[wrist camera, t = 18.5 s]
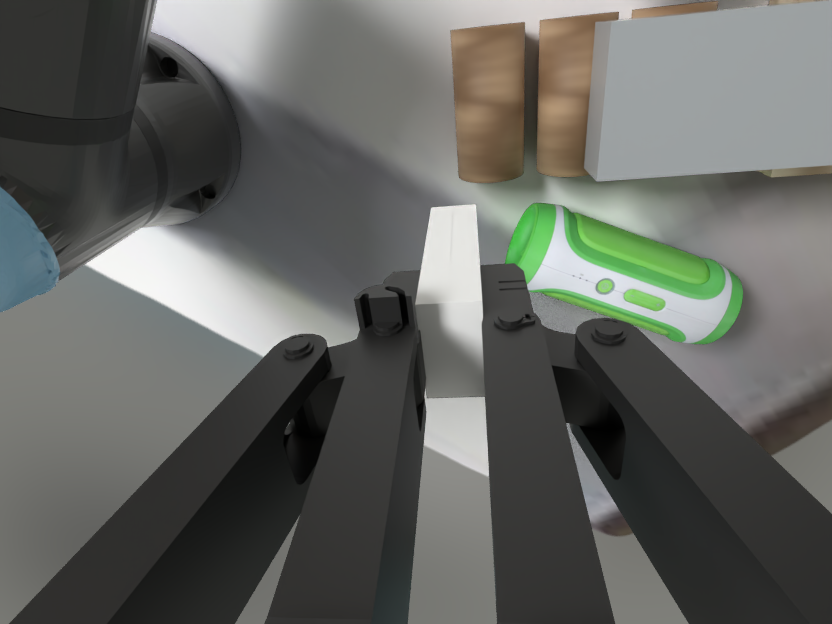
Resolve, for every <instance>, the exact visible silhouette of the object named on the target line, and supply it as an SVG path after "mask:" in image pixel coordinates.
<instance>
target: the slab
mask: <svg viewBox="0 0 832 624" xmlns="http://www.w3.org/2000/svg"><path fill="white" fill-rule="evenodd" d="M828 165H832V0H811V1H801V2H791V3H781V4H771V5H761V6H751V7H741V8H731V9H720V10H710V11H700V12H690V13H680V14H670V15H660V16H650V17H640V18H629V19H619V20H609V21H599V22H595V35H594V47H593V60H592V73H591V85H590V98H589V110H588V123H587V136H586V148H585V161H584V169H585V170H586V171H587V172H588V173H589V174H590V175H591V176H592V177H593V178H594V179H595V181H596V182H598V181H613V180H627V179H641V178H656V177H670V176H684V175H699V174H713V173H727V172H742V171H756V170H770V169H785V168H799V167H813V166H828Z"/></svg>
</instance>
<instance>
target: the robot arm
mask: <svg viewBox="0 0 832 624" xmlns="http://www.w3.org/2000/svg"><path fill="white" fill-rule="evenodd" d="M156 3H157V0H0V312H3V311H6V310H8V309H10V308H12V307H14V306H16V305H18V304H20V303H22V302H24V301H26V300H28V299H30V298H32V297H34V296H36V295H41V294H44V293H46V292H48V291H50V290H51V289H52V288H53V287H55V286H56V284H55V283H57V282H58V281H59V280H61V279H63V278H64V277H66V276H67V275H69V274H70V273H72V272H73V271H75V270H76V269H78V268H80V267H81V266H83V265H84V264H86V263H87V262H89V261H91V260H92V259H94V258H95V257H97V256H98V255H100V254H101V253H103V252H105V251H106V250H108V249H109V248H111V247H112V246H114V245H115V244H117V243H118V242H120V241H122V240H123V239H125V238H126V237H128V236H129V235H131V234H132V233H134V232H135V231H137V230H138V229H140V228H143V227H154V226H165V225H175V224H181V223H185V222H188V221H191V220H193V219H196V218H198V217H200V216H201V215H203V214H205V213H206V212H207V211H209V210H210V209H211V208H213V207H214V206H216V205H217V204H218V203H219V202H220V201H222V199H223V198H224V197H225V196H226V195H227V194H228V192H229V191H230V189H231V188H232V186H233V184H234V182H235V179H236V177H237V173H238V170H239V165H240V158H241V143H240V134H239V129H238V125H237V121H236V118H235V115H234V112H233V109H232V107H231V105H230V103H229V100H228V99H227V97H226V95H225V93H224V91H223V90H222V88H221V86H220V85H219V83H218V82H217V81H216V79H215V78H214V77H213V75H212V74H211V73H210V72H209V71H208V69H207V68H206V67H205V66H204V65H203V64H202V63H201V62H200V61H199V60H198V59H197V58H195V57H194V56H193V55H192V54H191V53H189V52H188V51H187V50H185V49H184V48H183V47H181V46H179V45H178V44H176V43H175V42H173V41H171V40H169V39H167V38H165V37H163V36H160V35H158V34H155V33H152V32H151V28H152V23H153V18H154V13H155V8H156ZM354 301H355V306H356V311H357V316H358V321H359V327H360V331H359V334H358V337H357V339H356V340H353V341H351V342H348V343H345V344H341V345H337V346H333V347H329V348H328V347H327V342H326V340H325V339H324V338H323V337H321V336H319V335H315V334H299V335H294V336H291V337H289V338H287V339H285V340H283V341H281V342H280V343H278V344H277V345H276V346H274V347H273V348H272V349H271V350H270V351H269V352H268V354H267V355H266V356H265V357H264V358H263V359H262V360H261V361H260V362H259V363H258V364H257V365H256V366H255V367H254V368H253V369H252V370H251V371H250V372H249V373H248V374H247V376H246V377H245V378H244V379H243V380H242V381H241V382H240V383H239V384H238V385H237V386H236V387H235V388H234V389H233V390H232V391H231V392H230V393H229V394H228V395H227V396H226V397H225V399H224V400H223V401H222V402H221V403H220V404H219V405H218V406H217V407H216V408H215V409H214V410H213V411H212V412H211V413H210V414H209V415H208V416H207V418H205V419H204V421H203V422H202V423H201V424H200V425H199V426H198V427H197V428H196V429H195V430H194V431H193V432H192V433H191V434H190V435H189V436H188V437H187V438H186V439H185V440H184V441H183V442H182V443H181V445H180V446H179V447H178V448H177V449H176V450H175V451H174V452H173V453H172V454H171V455H170V456H169V457H168V458H167V459H166V460H165V461H164V462H163V463H162V464H161V465H160V467H158V469H157V470H156V471H155V472H154V473H153V474H152V475H151V476H150V477H149V478H148V479H147V480H146V481H145V482H144V483H143V484H142V485H141V486H140V487H139V488H138V489H137V491H136V492H135V493H134V494H133V495H132V496H131V497H130V498H129V499H128V500H127V501H126V502H125V503H124V504H123V505H122V506H121V507H120V508H119V509H118V510H117V511H116V512H115V514H114V515H113V516H112V517H111V518H110V519H109V520H108V521H107V522H106V523H105V524H104V525H103V526H102V527H101V528H100V529H99V530H98V531H97V532H96V533H95V534H94V535H93V536H92V538H91V539H90V540H89V541H88V542H87V543H86V544H85V545H84V546H83V547H82V548H81V549H80V550H79V551H78V552H77V553H76V554H75V555H74V556H73V557H72V558H71V559H70V561H69V562H68V563H67V564H66V565H65V566H64V567H63V568H62V569H61V570H60V571H59V572H58V573H57V574H56V575H55V576H54V577H53V578H52V579H51V580H50V581H49V583H48V584H47V585H46V586H45V587H44V588H43V589H42V590H41V591H40V592H39V593H38V594H37V595H36V596H35V597H34V598H33V599H32V600H31V601H30V603H28V605H27V606H26V607H25V608H24V609H23V610H22V611H21V612H20V613H19V614H18V615H17V616H16V617H15V618H14V619H13V620H12V621H11V622H10V623H9V624H235V622H236V621H237V619H238V617H239V616H240V614H241V612H242V611H243V609H244V607H245V606H246V604H247V602H248V601H249V599H250V597H251V595H252V594H253V592H254V591H255V589H256V587H257V585H258V584H259V582H260V581H261V579H262V577H263V575H264V574H265V572H266V571H267V569H268V567H269V566H270V564H271V562H272V560H273V559H274V557H275V555H276V554H277V552H278V550H279V549H280V547H281V545H282V544H283V542H284V540H285V539H286V537H287V535H288V534H289V532H290V530H291V529H292V527H293V525H294V524H295V522H296V520H297V519H298V517H299V515H300V517H299V520H298V523H297V527H296V529H295V533H294V536H293V539H292V542H291V545H290V548H289V551H288V554H287V557H286V560H285V564H284V567H283V570H282V573H281V576H280V579H279V582H278V585H277V588H276V592H275V594H274V598H273V601H272V604H271V607H270V610H269V613H268V616H267V619H266V621H265V624H408V612H409V601H410V590H411V579H412V567H413V556H414V545H415V534H416V523H417V511H418V499H419V488H420V477H421V465H422V454H423V444H424V433H425V421H426V406H425V398H424V394H425V387H426V395H427V398H452V397H485V403H486V424H487V442H488V461H489V480H490V497H491V517H492V534H493V535H492V536H493V555H494V572H495V593H496V612H497V624H615V621H614V617H613V613H612V609H611V605H610V601H609V597H608V593H607V588H606V585H605V581H604V576H603V572H602V568H601V564H600V560H599V556H598V552H597V548H596V544H595V540H594V536H593V532H592V528H591V524H590V520H589V515H588V511H587V507H586V503H585V499H584V495H583V491H582V487H581V483H580V479H579V475H578V471H577V467H576V463H575V459H574V455H573V451H572V447H571V442H570V438H569V434H568V430H567V426H566V423H570V427H571V431H572V433H573V435H574V437H575V438H576V440H577V441H578V443H579V445H580V446H581V448H582V450H583V451H584V453H585V455H586V456H587V458H588V459H589V461H590V463H591V464H592V466H593V468H594V469H595V471H596V473H597V474H598V476H599V477H600V479H601V481H602V482H603V484H604V486H605V487H606V489H607V491H608V492H609V494H610V495H611V497H612V499H613V500H614V502H615V504H616V505H617V507H618V509H619V510H620V512H621V513H622V515H623V517H624V518H625V520H626V522H627V523H628V525H629V527H630V528H631V530H632V531H633V533H634V535H635V536H636V538H637V540H638V541H639V543H640V544H641V546H642V548H643V549H644V551H645V553H646V554H647V556H648V558H649V559H650V561H651V563H652V564H653V566H654V567H655V569H656V570H657V572H658V574H659V576H660V577H661V579H662V580H663V582H664V584H665V585H666V587H667V589H668V590H669V592H670V594H671V595H672V597H673V598H674V600H675V602H676V603H677V605H678V607H679V608H680V610H681V612H682V613H683V615H684V616H685V618H686V620H687V621H688V623H689V624H832V514H831V513H830V512H829V511H828V510H827V509H826V508H825V507H824V506H823V505H822V504H821V503H820V502H819V501H818V500H817V499H815V498H814V497H813V496H812V495H811V494H810V493H809V492H808V491H807V490H806V489H805V488H804V487H803V486H802V485H801V484H800V483H798V481H797V480H795V478H793V477H792V476H791V475H790V474H789V473H788V472H787V471H786V470H785V469H784V468H783V467H782V466H781V465H780V464H779V463H778V462H777V461H776V460H775V459H774V458H773V457H772V456H770V455H769V454H768V453H767V452H766V451H765V450H764V449H763V448H762V447H761V446H760V445H759V444H758V443H757V442H756V441H755V440H754V439H753V438H752V437H751V436H750V435H749V434H747V433H746V432H745V431H744V430H743V429H742V428H741V427H740V426H739V425H738V424H737V423H736V422H735V421H734V420H733V419H732V418H731V417H730V416H729V415H728V414H727V413H726V412H724V411H723V410H722V409H721V408H720V407H719V406H718V405H717V404H716V403H715V402H714V401H713V400H712V399H711V398H710V397H709V396H708V395H707V394H706V393H705V392H704V391H702V390H701V389H700V388H699V387H698V386H697V385H696V384H695V383H694V382H693V381H692V380H691V379H690V378H689V377H688V376H687V375H686V374H685V373H684V372H683V371H682V370H681V369H679V368H678V367H677V366H676V365H675V364H674V363H673V362H672V361H671V360H670V359H669V358H668V357H667V356H666V355H665V354H664V353H663V352H662V351H661V350H660V349H659V348H658V347H656V346H655V345H654V344H653V343H652V342H651V341H650V340H649V339H648V338H647V337H646V336H645V335H644V334H643V333H642V332H641V331H640V330H639V329H637V328H636V327H634V326H633V325H631V324H630V323H627V322H624V321H621V320H618V319H613V318H612V319H610V318H599V319H592V320H589V321H586V322H583V323H582V324H581V325H579V326H578V327H577V330H576V334H569V333H563V332H558V331H554V330H551V329H548V328H546V327H544V326H543V325H541V321H540V319H539V317H538V316H537V315H536V314H535V313H534V312H533V308H532V304H531V300H530V295H529V291H528V287H527V283H526V279H525V274H524V271H523V270H522V269H521V268H520V267H518V266H517V265H516V264H515V263H511V264H495V265H480V259H479V244H478V229H477V214H476V204H471V205H458V206H445V207H432V208H431V212H430V218H429V224H428V230H427V236H426V242H425V248H424V254H423V260H422V266H421V270H419V271H403V272H393V273H392V274H391V275H390V276H389V277H388V278H386V279H385V280H384V283H383V284H382V285H376V286H373V287H370V288H367V289H365V290H363V291H362V292H360V293H358V295H357V296H356V297H355V299H354ZM289 422H290V424H289ZM288 424H289V425H288ZM287 426H288V427H287Z"/></svg>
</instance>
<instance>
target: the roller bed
mask: <svg viewBox="0 0 832 624" xmlns="http://www.w3.org/2000/svg"><path fill="white" fill-rule="evenodd" d="M717 7H718V1H710V2H699V3H689V4H680V5H670V6H661V7H652V8H644V9H636V10H632V18H640V17H650V16H660V15H670V14H680V13H690V12H700V11H710V10H717ZM618 17H619V12H611V13H600V14H590V15H581V16H572V17H563V18H554V19H547V20H540V31H539V77H538V123H537V168H536V169H537V171H538V172H539V173H541V174H544V175H548V176H556V177H578V176H586V175H590V174H589V173H588V172H587V171H586V170H585V169H584V161H585V148H586V136H587V123H588V110H589V98H590V85H591V73H592V60H593V47H594V35H595V22H599V21H609V20H618ZM451 48H452V65H453V83H454V101H455V119H456V137H457V155H458V173H459V178H460V179H462V180H464V181H468V182H474V183H494V182H502V181H507V180H511V179H515V178H517V177H519V176H521V175H522V174H523V173H524V69H525V22H521V23H510V24H500V25H491V26H482V27H473V28H465V29H457V30H451Z"/></svg>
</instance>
